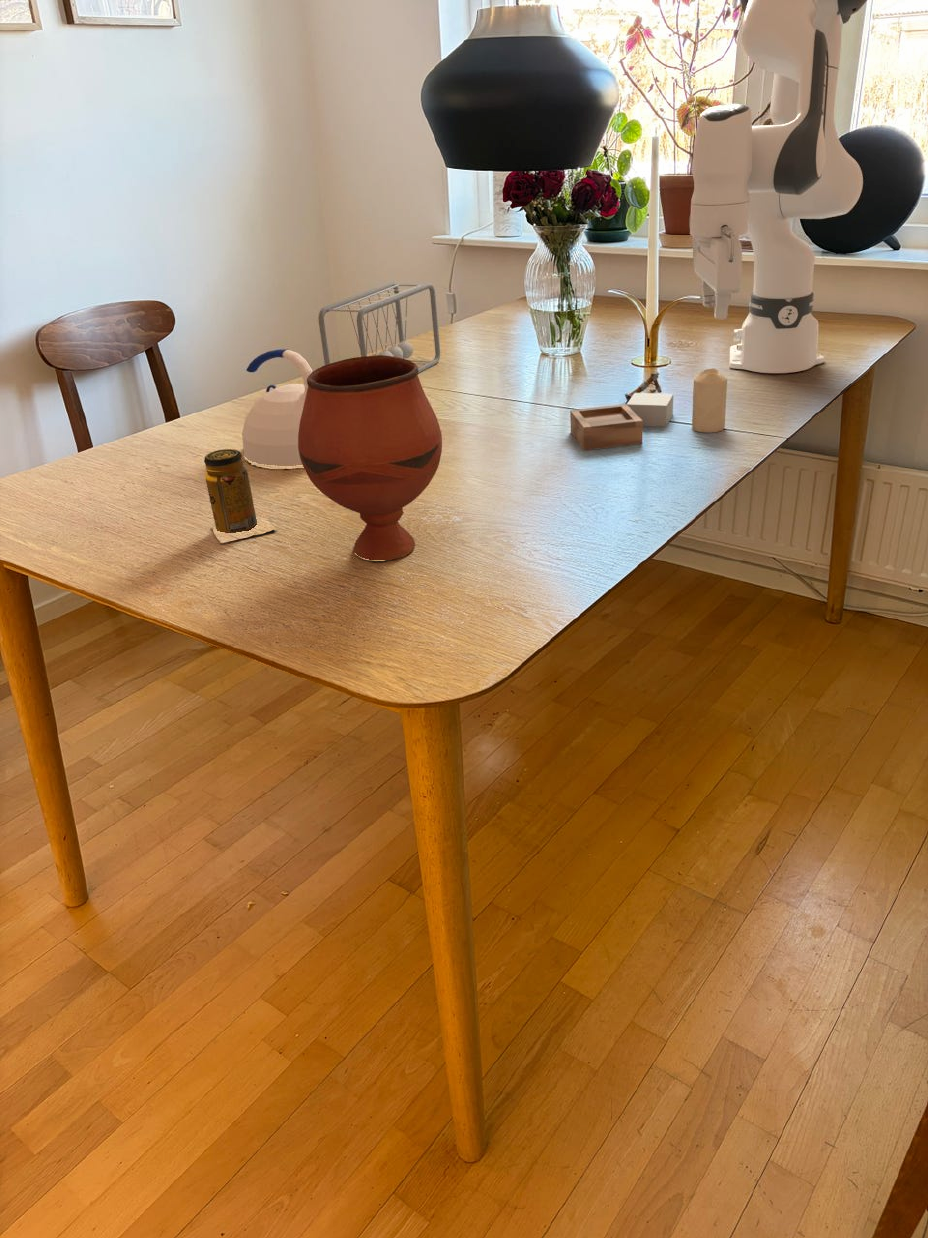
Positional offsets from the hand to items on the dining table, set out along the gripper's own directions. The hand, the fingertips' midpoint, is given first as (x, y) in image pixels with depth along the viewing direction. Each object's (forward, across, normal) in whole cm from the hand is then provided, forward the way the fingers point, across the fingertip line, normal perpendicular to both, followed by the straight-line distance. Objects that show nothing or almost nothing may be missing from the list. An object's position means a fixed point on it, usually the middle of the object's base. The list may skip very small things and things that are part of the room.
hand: (714, 312), depth 160 cm
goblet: (+20, -42, +52) cm, 70 cm away
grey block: (+20, +7, +9) cm, 23 cm away
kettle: (+20, +3, +72) cm, 75 cm away
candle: (+20, +1, 0) cm, 20 cm away
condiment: (+20, -32, +74) cm, 84 cm away
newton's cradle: (+20, +48, +60) cm, 79 cm away
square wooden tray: (+20, -1, +18) cm, 27 cm away
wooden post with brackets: (+20, +21, +8) cm, 30 cm away
